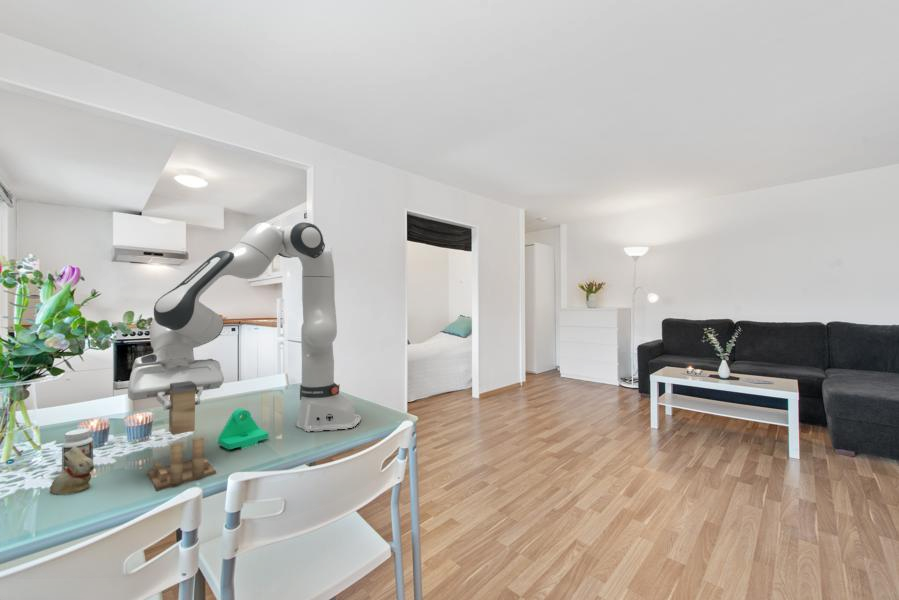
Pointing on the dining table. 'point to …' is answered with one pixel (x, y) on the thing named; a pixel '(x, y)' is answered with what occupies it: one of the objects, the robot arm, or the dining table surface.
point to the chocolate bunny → (73, 473)
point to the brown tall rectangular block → (182, 407)
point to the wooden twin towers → (181, 466)
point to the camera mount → (241, 431)
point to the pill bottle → (77, 444)
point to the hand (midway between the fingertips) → (182, 405)
